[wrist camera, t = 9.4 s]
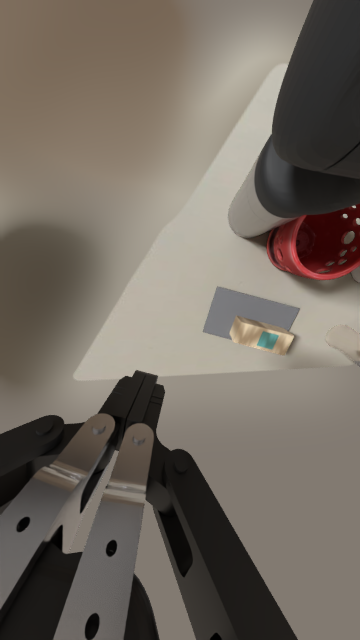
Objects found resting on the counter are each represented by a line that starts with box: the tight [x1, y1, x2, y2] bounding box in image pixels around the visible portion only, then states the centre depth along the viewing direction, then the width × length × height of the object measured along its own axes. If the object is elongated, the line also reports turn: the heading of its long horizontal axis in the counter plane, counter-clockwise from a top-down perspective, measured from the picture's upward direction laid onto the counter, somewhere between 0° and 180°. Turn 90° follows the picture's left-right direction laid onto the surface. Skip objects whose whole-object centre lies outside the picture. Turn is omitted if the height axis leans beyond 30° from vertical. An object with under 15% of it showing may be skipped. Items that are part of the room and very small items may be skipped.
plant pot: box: [267, 204, 360, 280], centre depth 31 cm, size 13×13×12 cm
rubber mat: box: [203, 287, 299, 340], centre depth 43 cm, size 12×20×1 cm, turn 76°
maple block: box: [229, 316, 294, 355], centre depth 41 cm, size 5×5×12 cm
